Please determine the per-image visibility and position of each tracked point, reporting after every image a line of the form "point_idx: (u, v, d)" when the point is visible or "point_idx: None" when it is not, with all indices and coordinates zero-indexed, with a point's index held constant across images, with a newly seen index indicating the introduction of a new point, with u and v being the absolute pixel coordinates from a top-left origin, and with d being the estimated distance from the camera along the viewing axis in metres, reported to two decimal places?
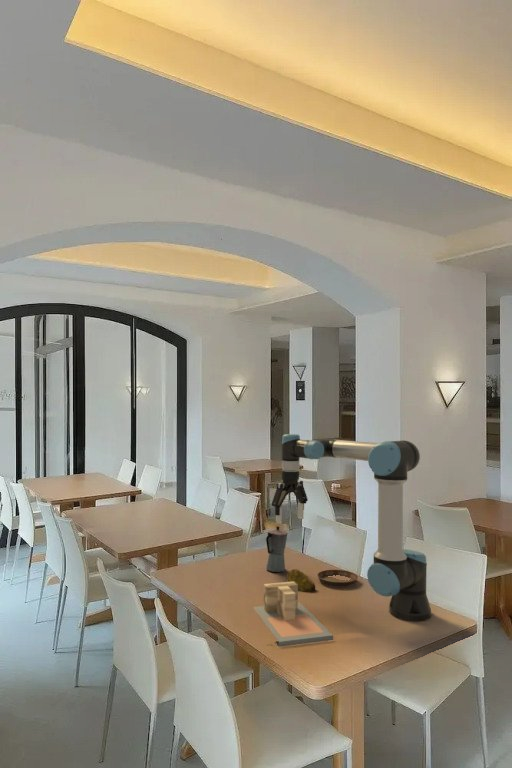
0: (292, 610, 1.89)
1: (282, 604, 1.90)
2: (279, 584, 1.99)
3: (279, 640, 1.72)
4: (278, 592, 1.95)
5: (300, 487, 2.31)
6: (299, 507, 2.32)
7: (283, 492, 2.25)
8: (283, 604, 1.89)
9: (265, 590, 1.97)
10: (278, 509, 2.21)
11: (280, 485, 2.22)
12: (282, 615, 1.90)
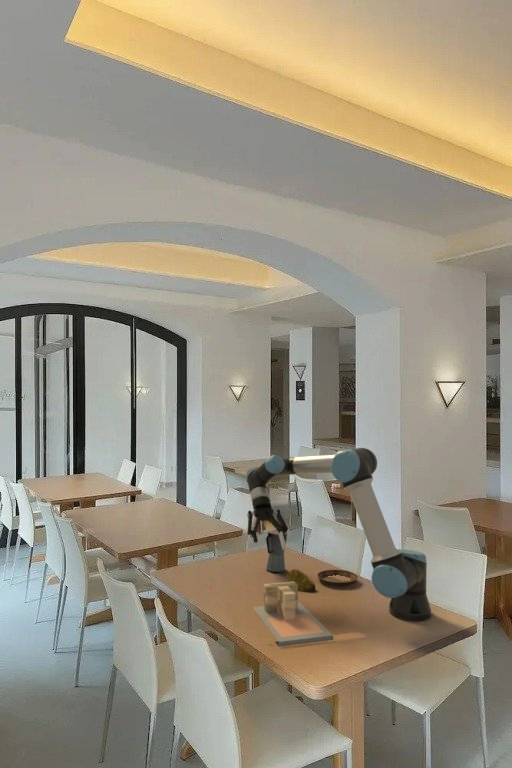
0: (292, 610, 1.89)
1: (282, 604, 1.90)
2: (279, 584, 1.99)
3: (279, 640, 1.72)
4: (278, 592, 1.95)
5: (277, 516, 2.20)
6: (280, 537, 2.14)
7: None
8: (283, 604, 1.89)
9: (265, 590, 1.97)
10: (254, 535, 2.11)
11: (248, 513, 2.18)
12: (282, 615, 1.90)
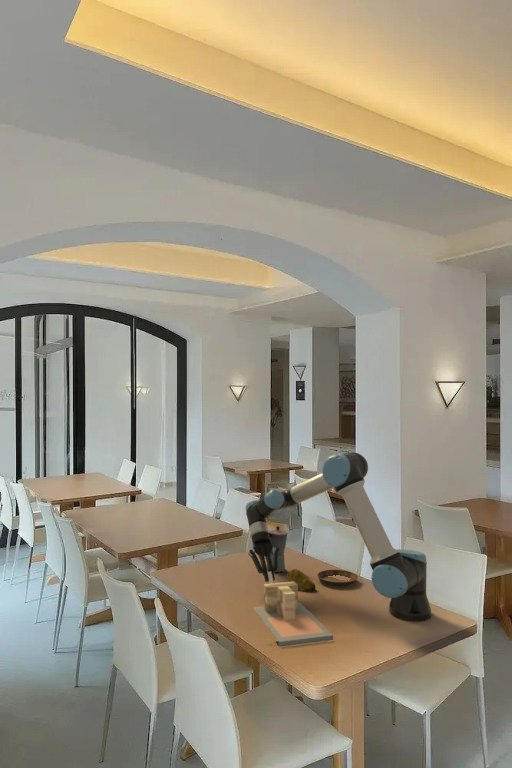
0: (292, 610, 1.89)
1: (282, 604, 1.90)
2: (279, 584, 1.99)
3: (279, 640, 1.72)
4: (278, 592, 1.95)
5: (274, 554, 2.19)
6: None
7: (260, 557, 2.17)
8: (283, 604, 1.89)
9: (265, 590, 1.97)
10: (266, 574, 2.11)
11: (250, 552, 2.17)
12: (282, 615, 1.90)
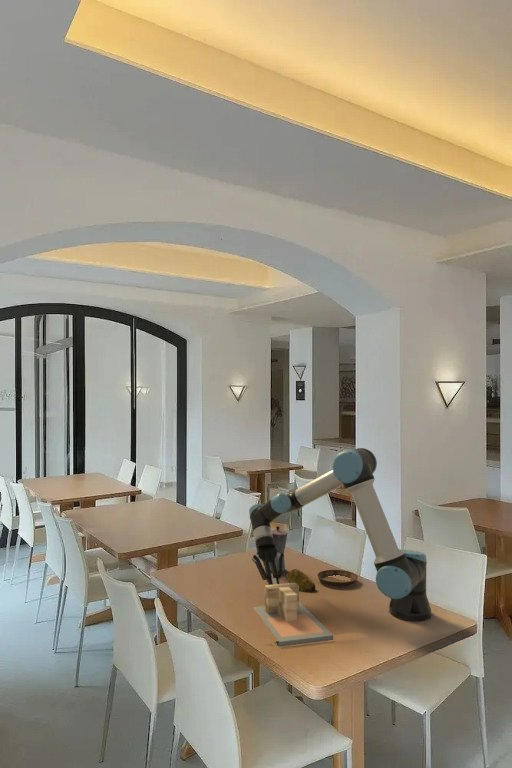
0: (294, 612, 1.88)
1: (284, 606, 1.89)
2: (280, 585, 1.97)
3: (279, 640, 1.72)
4: (279, 593, 1.94)
5: (279, 559, 2.11)
6: (273, 584, 2.04)
7: (264, 563, 2.09)
8: (285, 606, 1.88)
9: (266, 591, 1.95)
10: (270, 581, 2.03)
11: (254, 558, 2.09)
12: (284, 616, 1.89)
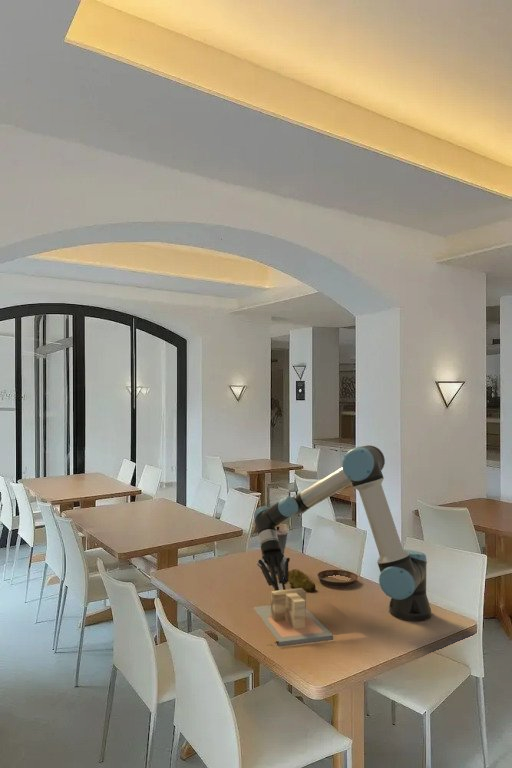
0: (302, 619, 1.82)
1: (292, 612, 1.83)
2: (287, 591, 1.91)
3: (279, 640, 1.72)
4: (286, 599, 1.88)
5: (284, 564, 2.05)
6: None
7: (270, 568, 2.03)
8: (293, 612, 1.82)
9: (273, 597, 1.89)
10: (276, 586, 1.97)
11: (259, 563, 2.03)
12: (291, 623, 1.83)
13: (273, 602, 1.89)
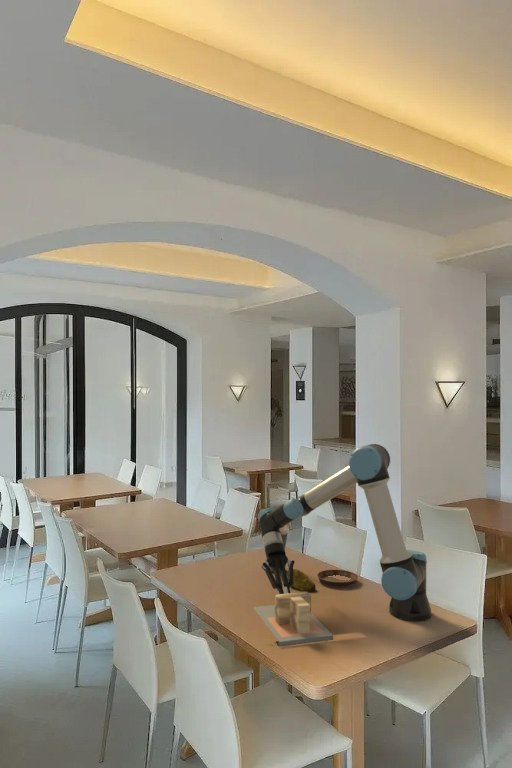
0: (307, 623, 1.79)
1: (296, 617, 1.80)
2: (291, 595, 1.88)
3: (279, 640, 1.72)
4: (291, 603, 1.84)
5: (289, 567, 2.02)
6: (284, 593, 1.94)
7: (274, 571, 1.99)
8: (297, 617, 1.79)
9: (277, 601, 1.86)
10: (281, 589, 1.94)
11: (263, 565, 1.99)
12: (296, 628, 1.80)
13: (277, 606, 1.85)
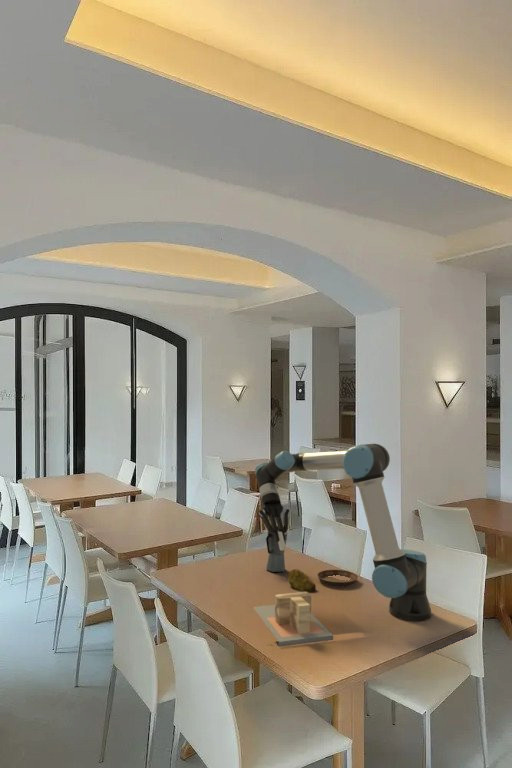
0: (307, 623, 1.79)
1: (296, 617, 1.80)
2: (291, 595, 1.88)
3: (279, 640, 1.72)
4: (291, 603, 1.84)
5: (284, 515, 2.16)
6: None
7: (270, 518, 2.14)
8: (297, 617, 1.79)
9: (277, 601, 1.86)
10: (276, 534, 2.08)
11: (260, 513, 2.14)
12: (296, 628, 1.80)
13: (277, 606, 1.85)
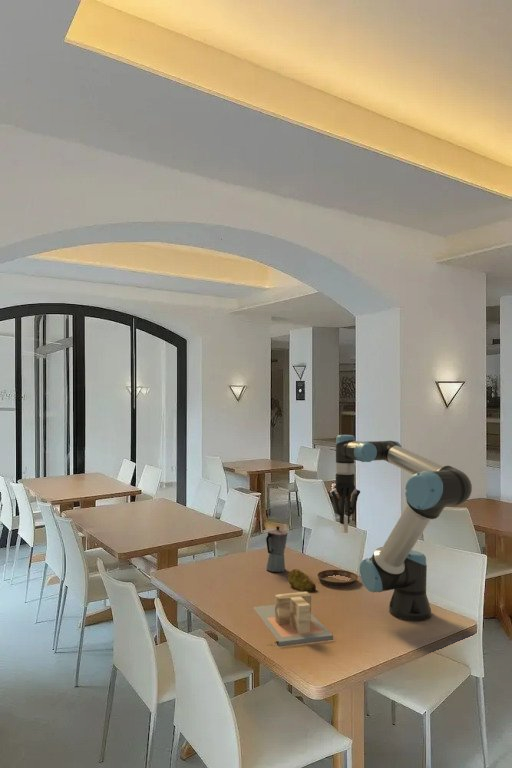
0: (307, 623, 1.79)
1: (296, 617, 1.80)
2: (291, 595, 1.88)
3: (279, 640, 1.72)
4: (291, 603, 1.84)
5: (354, 495, 2.17)
6: None
7: (340, 498, 2.15)
8: (297, 617, 1.79)
9: (277, 601, 1.86)
10: (342, 517, 2.15)
11: (331, 494, 2.13)
12: (296, 628, 1.80)
13: (277, 606, 1.85)
